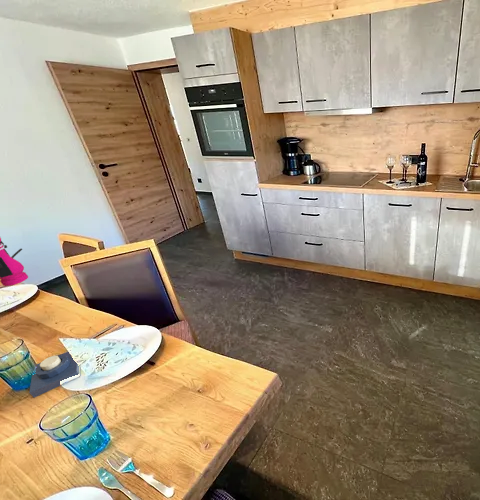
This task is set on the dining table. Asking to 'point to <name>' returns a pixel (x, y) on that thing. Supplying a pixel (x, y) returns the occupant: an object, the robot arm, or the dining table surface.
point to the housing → (53, 375)
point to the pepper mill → (12, 269)
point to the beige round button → (50, 363)
